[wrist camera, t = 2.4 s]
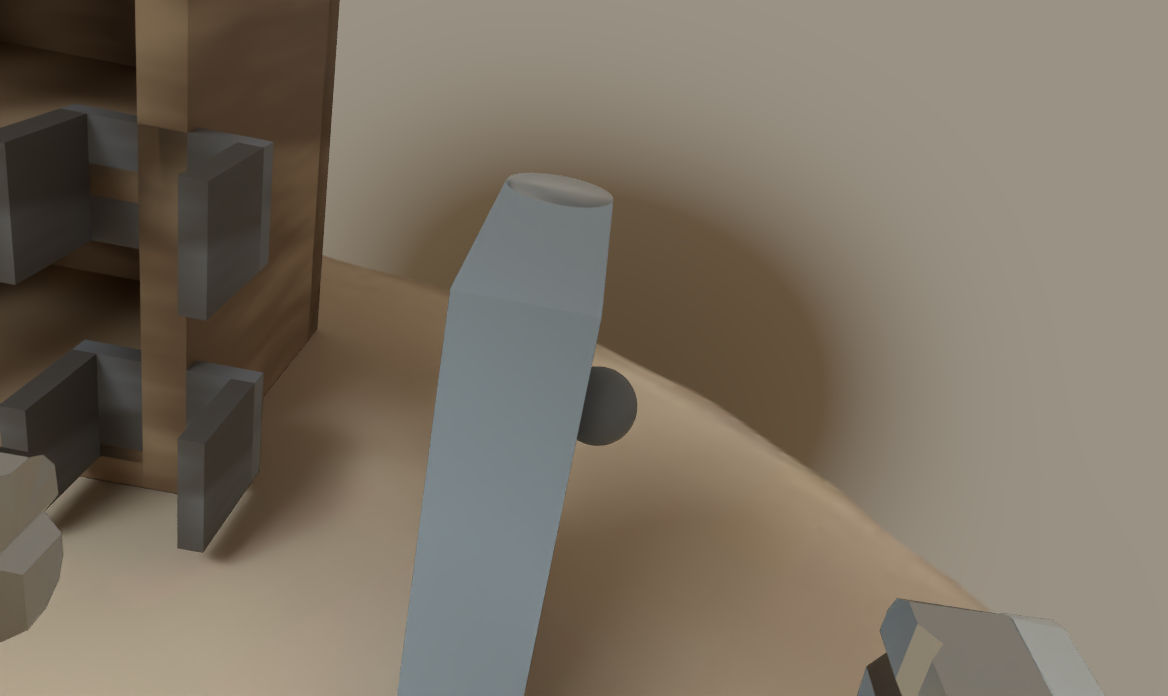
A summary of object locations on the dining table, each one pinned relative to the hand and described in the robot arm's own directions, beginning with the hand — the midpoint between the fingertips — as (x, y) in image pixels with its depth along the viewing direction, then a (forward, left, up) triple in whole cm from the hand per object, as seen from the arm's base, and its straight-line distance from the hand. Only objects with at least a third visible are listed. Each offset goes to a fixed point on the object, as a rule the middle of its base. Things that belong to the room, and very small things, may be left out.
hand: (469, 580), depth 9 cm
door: (0, +15, -15) cm, 21 cm away
